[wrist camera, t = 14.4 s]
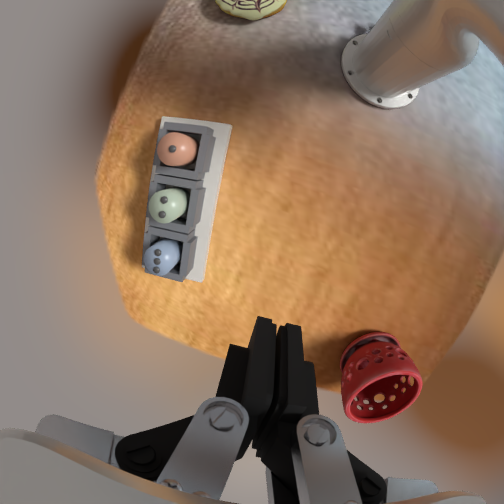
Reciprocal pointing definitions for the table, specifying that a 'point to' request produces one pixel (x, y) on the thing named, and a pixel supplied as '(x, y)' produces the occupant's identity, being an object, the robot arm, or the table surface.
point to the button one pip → (178, 149)
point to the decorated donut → (251, 8)
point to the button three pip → (163, 256)
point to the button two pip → (169, 204)
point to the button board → (201, 194)
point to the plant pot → (377, 378)
